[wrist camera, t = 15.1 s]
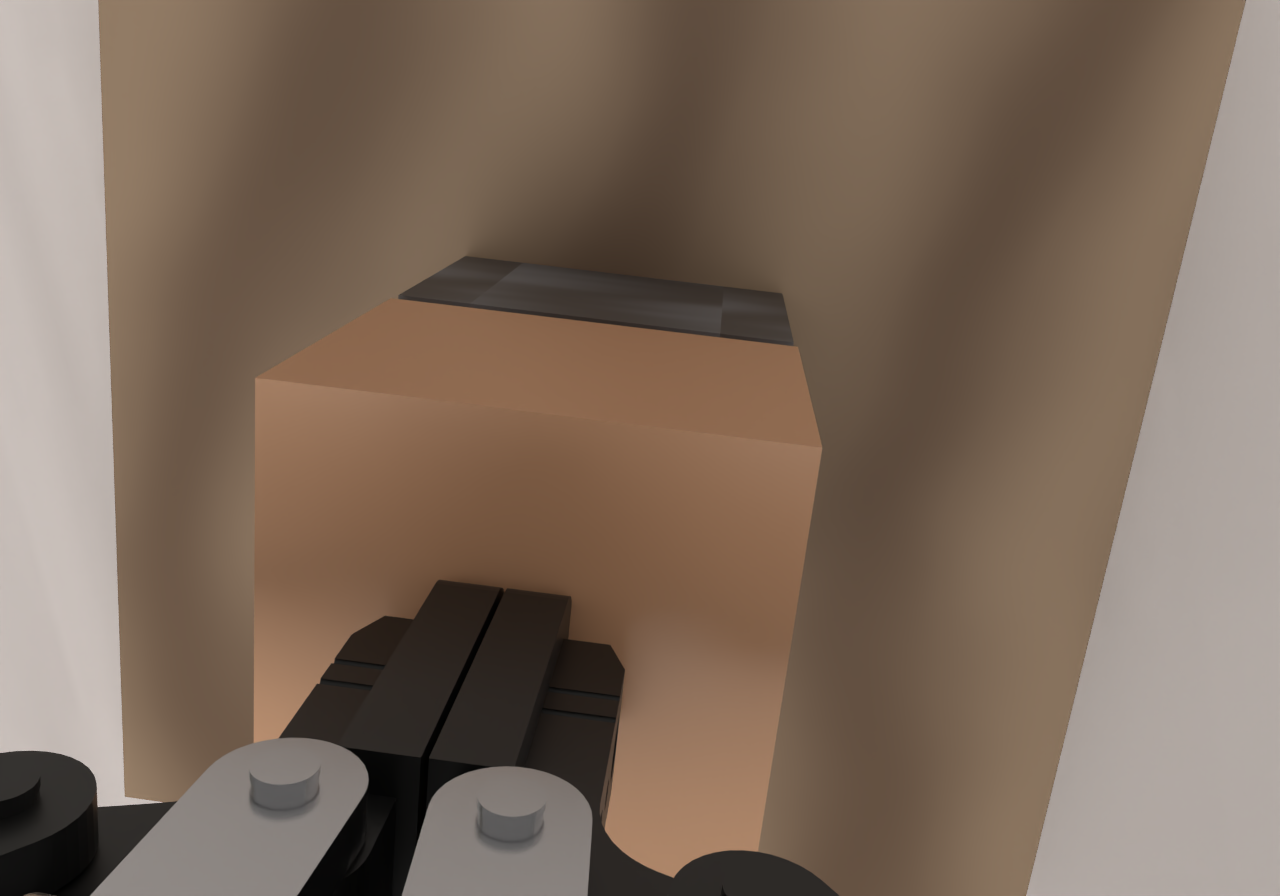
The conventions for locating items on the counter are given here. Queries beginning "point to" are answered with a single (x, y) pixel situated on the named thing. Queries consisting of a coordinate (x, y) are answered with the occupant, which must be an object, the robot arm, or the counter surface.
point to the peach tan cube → (553, 527)
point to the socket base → (690, 327)
